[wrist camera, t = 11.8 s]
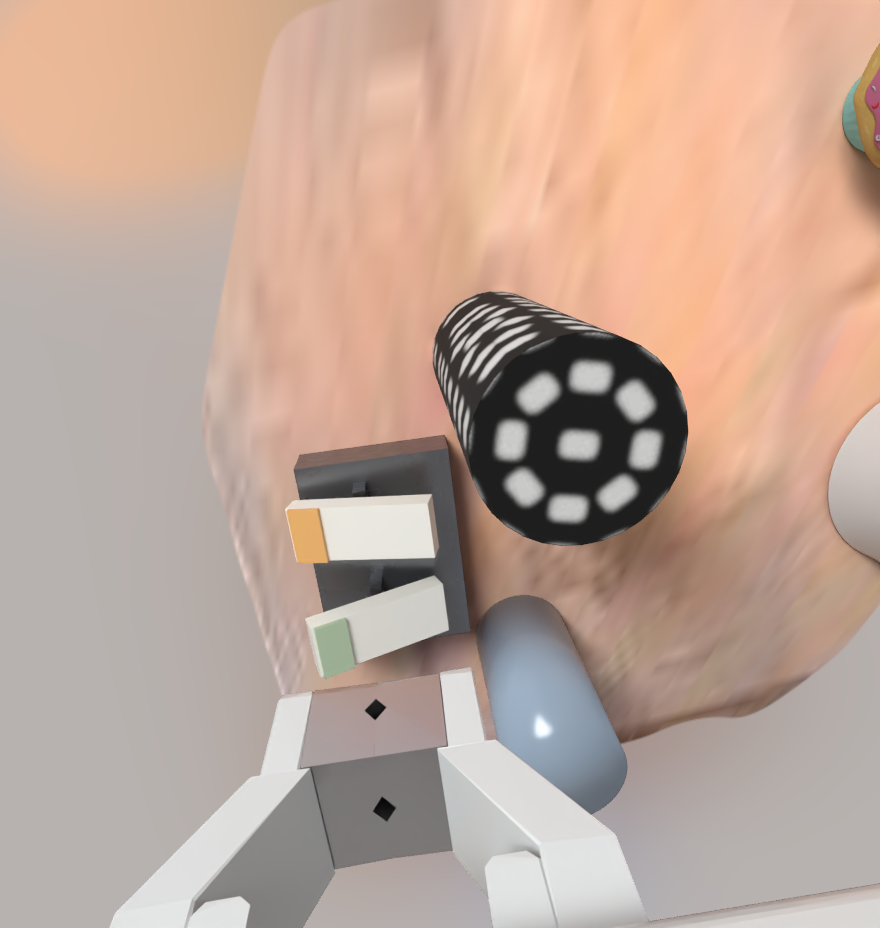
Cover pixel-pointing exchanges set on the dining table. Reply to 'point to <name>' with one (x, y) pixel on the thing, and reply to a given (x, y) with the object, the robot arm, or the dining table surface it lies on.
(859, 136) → the cupcake
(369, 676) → the dining table surface
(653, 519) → the dining table surface
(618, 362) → the white-spotted black cylinder
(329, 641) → the paddle
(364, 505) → the paddle
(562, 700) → the blue cylinder
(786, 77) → the dining table surface
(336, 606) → the panel
